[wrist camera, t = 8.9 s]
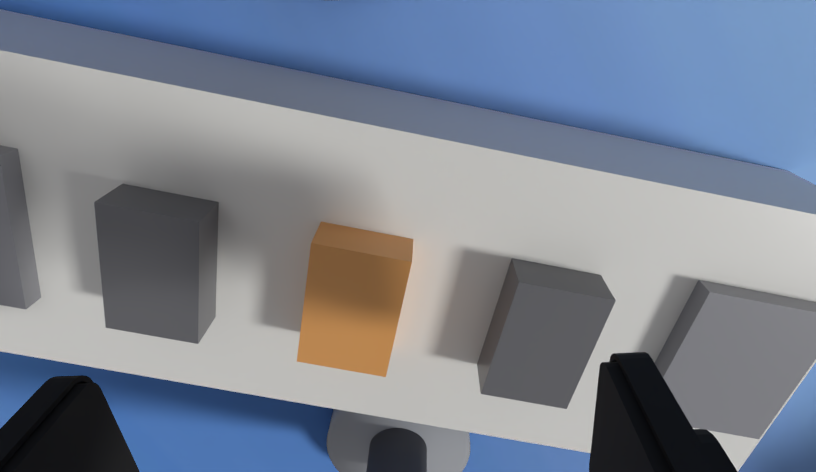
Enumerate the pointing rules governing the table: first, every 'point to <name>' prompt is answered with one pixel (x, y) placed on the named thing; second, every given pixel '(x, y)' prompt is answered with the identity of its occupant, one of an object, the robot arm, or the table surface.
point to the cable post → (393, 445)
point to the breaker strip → (384, 245)
